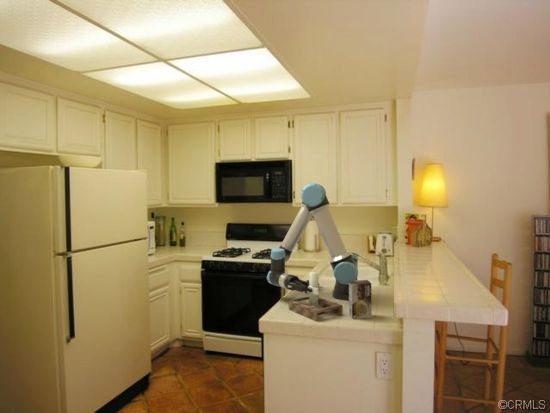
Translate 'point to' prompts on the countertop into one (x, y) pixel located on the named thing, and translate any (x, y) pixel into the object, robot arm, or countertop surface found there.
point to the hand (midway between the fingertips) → (321, 290)
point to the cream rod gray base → (314, 283)
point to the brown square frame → (314, 307)
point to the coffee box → (360, 299)
